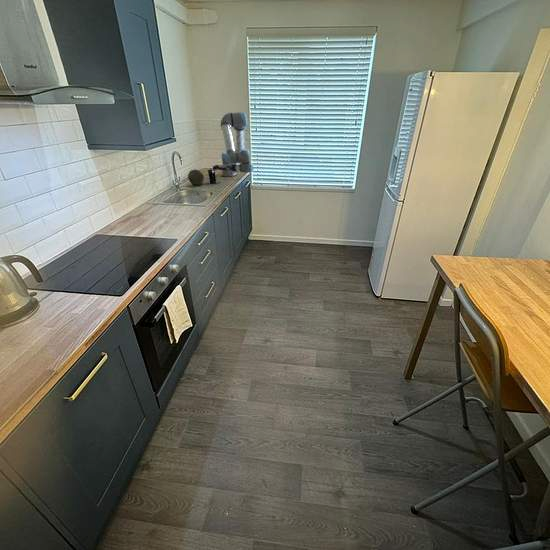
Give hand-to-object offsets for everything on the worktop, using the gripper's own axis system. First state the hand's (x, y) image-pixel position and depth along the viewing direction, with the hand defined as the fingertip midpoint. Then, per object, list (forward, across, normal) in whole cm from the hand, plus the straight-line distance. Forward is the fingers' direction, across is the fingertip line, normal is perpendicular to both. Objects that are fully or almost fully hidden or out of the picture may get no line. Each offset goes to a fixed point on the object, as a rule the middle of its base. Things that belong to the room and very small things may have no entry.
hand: (214, 167), depth 275 cm
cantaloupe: (+15, -11, -16) cm, 24 cm away
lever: (-2, 0, -4) cm, 4 cm away
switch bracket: (+4, 0, -16) cm, 16 cm away
